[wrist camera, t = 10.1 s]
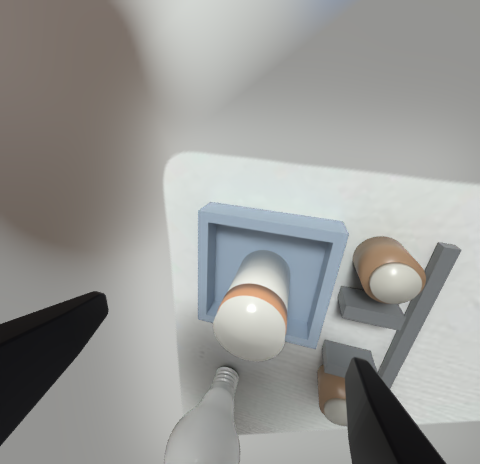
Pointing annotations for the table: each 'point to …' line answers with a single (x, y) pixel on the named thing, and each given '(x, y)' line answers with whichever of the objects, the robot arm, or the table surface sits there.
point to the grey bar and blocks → (389, 318)
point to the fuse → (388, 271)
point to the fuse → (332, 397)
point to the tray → (281, 242)
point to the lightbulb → (208, 427)
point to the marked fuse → (255, 308)
